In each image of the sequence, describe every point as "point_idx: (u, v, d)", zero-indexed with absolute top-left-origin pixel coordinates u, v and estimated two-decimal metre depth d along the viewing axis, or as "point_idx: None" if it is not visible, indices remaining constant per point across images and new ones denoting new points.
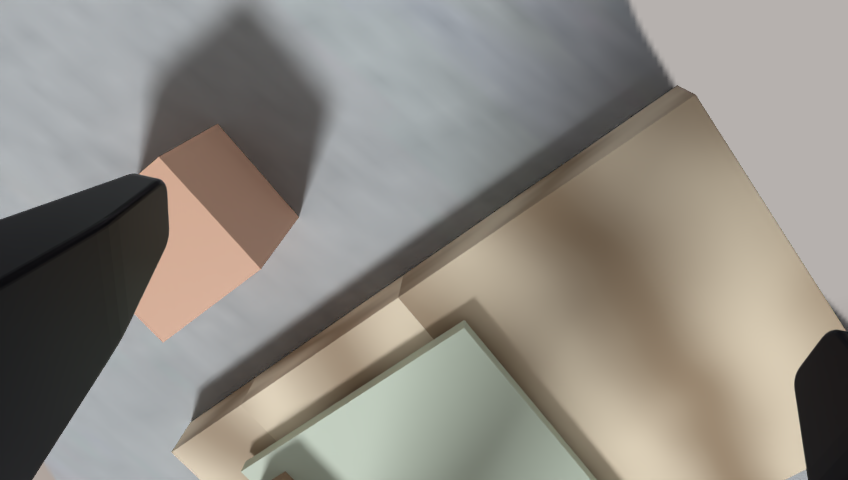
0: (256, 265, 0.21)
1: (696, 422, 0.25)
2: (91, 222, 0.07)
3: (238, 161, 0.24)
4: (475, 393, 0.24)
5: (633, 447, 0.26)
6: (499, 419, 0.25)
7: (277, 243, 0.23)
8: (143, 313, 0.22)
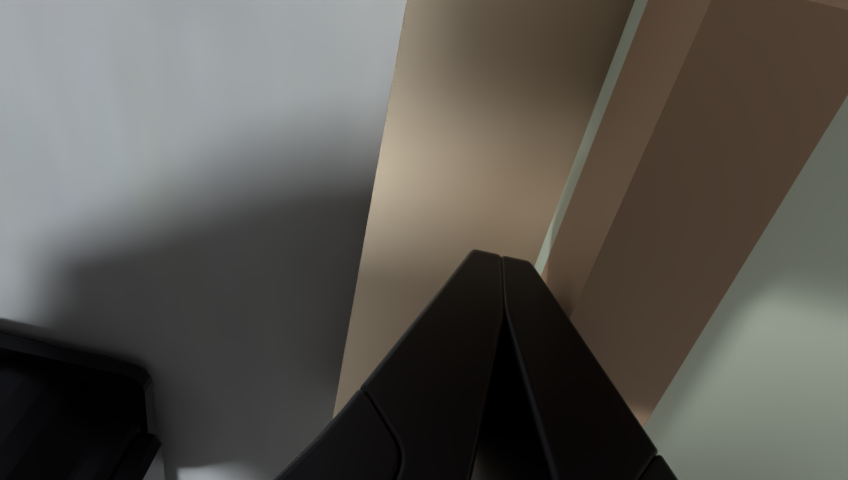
0: None
1: None
2: (494, 311, 0.07)
3: None
4: None
5: None
6: None
7: None
8: None
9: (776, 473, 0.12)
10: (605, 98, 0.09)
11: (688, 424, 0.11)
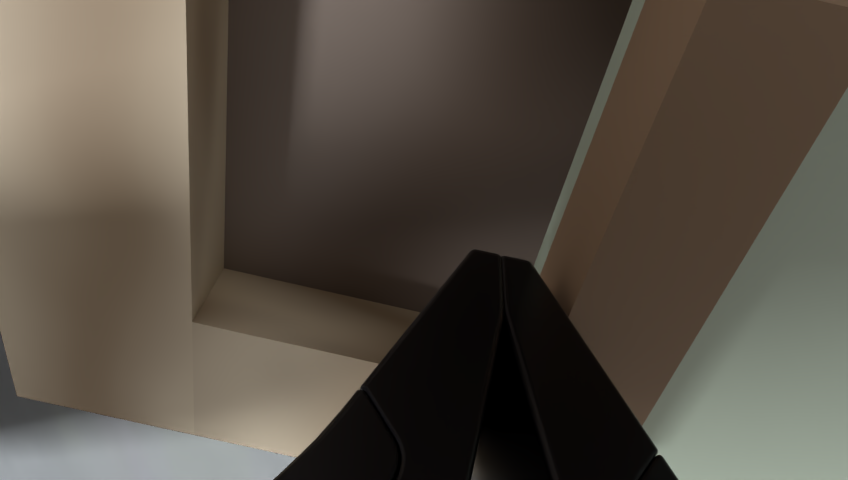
0: None
1: None
2: (494, 311, 0.07)
3: None
4: None
5: None
6: None
7: None
8: None
9: (776, 470, 0.12)
10: (604, 96, 0.09)
11: (688, 421, 0.11)
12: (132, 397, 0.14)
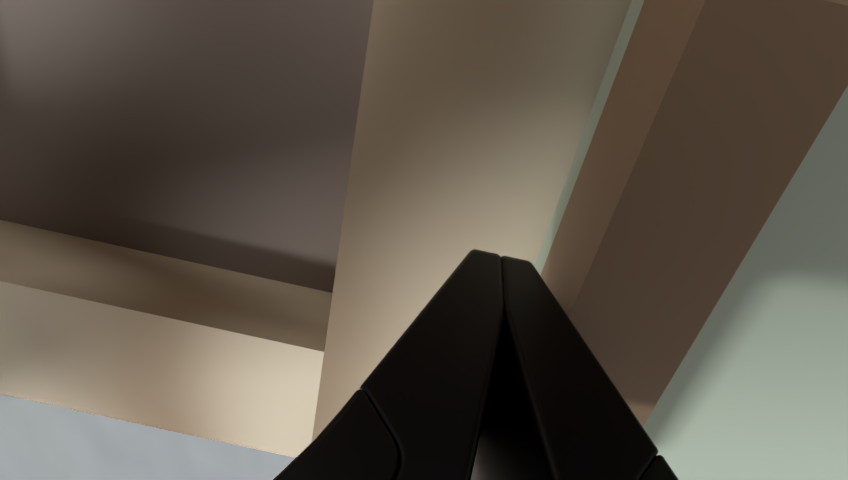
0: None
1: None
2: (494, 311, 0.07)
3: None
4: None
5: None
6: None
7: None
8: None
9: (778, 470, 0.12)
10: (603, 95, 0.09)
11: (690, 420, 0.11)
12: None
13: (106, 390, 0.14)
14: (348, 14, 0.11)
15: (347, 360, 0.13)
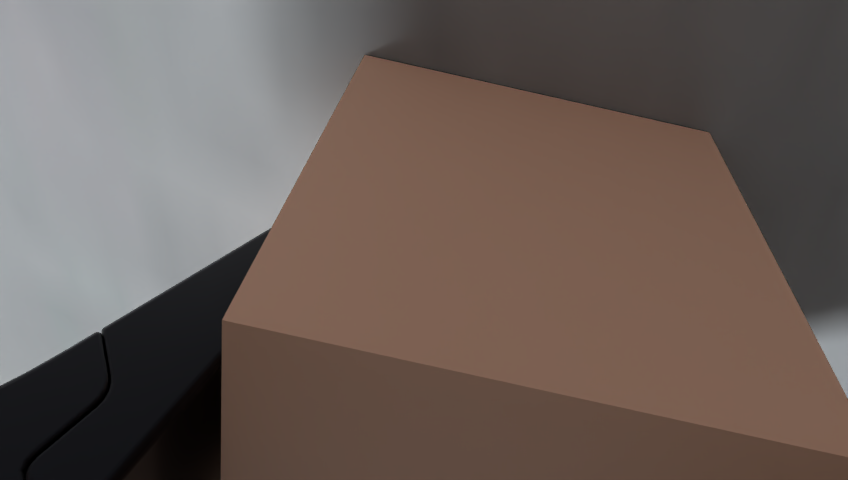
0: None
1: None
2: None
3: None
4: None
5: None
6: None
7: None
8: None
9: None
10: None
11: None
12: None
13: None
14: None
15: None
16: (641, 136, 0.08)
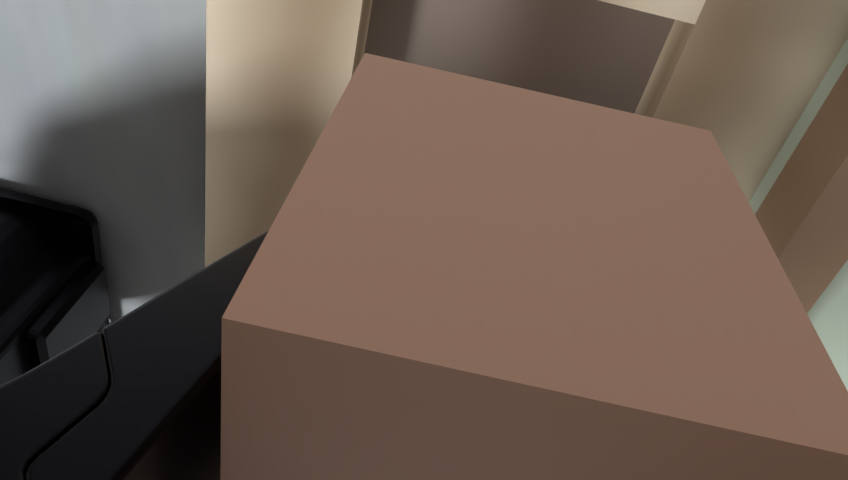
0: None
1: None
2: None
3: None
4: None
5: None
6: None
7: None
8: None
9: None
10: (803, 127, 0.16)
11: (820, 315, 0.19)
12: None
13: None
14: (629, 72, 0.19)
15: None
16: (643, 134, 0.08)
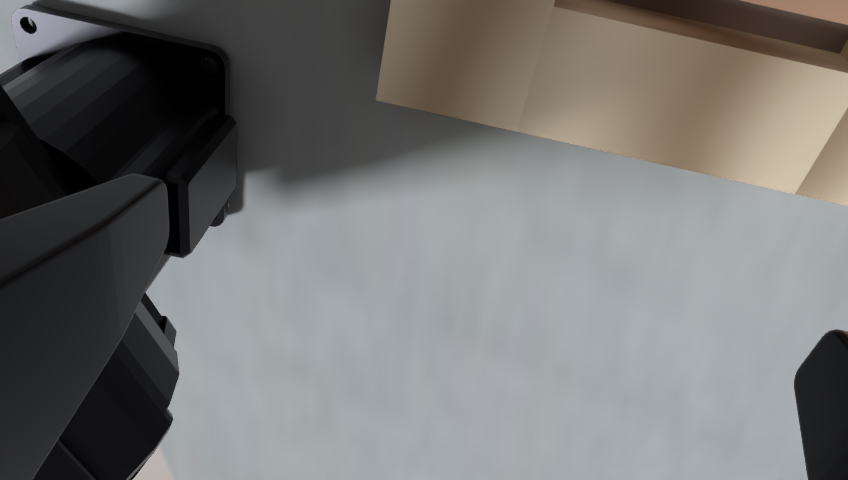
0: None
1: None
2: (91, 222, 0.07)
3: None
4: None
5: None
6: None
7: None
8: None
9: None
10: None
11: None
12: (476, 92, 0.18)
13: (650, 130, 0.18)
14: None
15: None
16: None
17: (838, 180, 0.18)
